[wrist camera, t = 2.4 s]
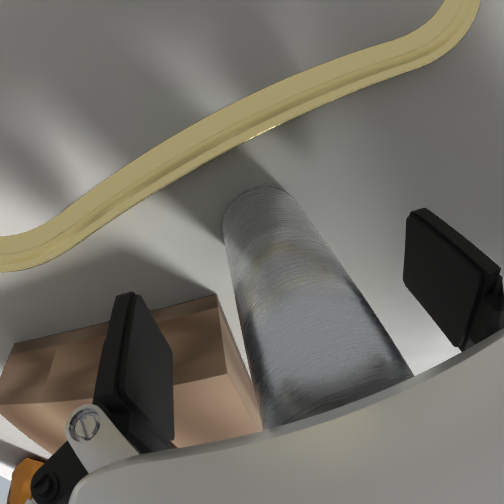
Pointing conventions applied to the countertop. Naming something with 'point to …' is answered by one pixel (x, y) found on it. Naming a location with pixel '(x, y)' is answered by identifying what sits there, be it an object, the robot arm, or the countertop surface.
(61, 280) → the countertop surface
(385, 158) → the countertop surface
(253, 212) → the pin
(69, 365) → the bore block
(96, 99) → the countertop surface
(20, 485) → the coffee package
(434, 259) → the robot arm
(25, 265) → the wavy rubber band
